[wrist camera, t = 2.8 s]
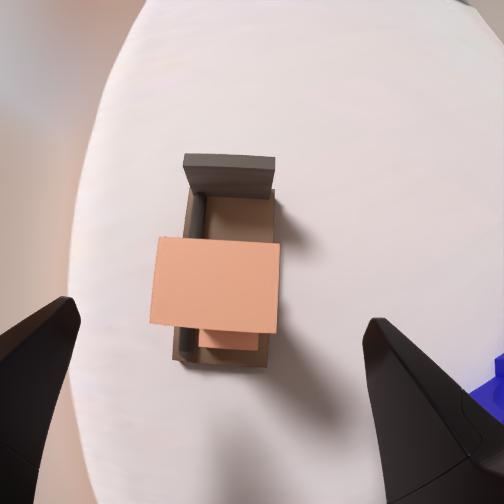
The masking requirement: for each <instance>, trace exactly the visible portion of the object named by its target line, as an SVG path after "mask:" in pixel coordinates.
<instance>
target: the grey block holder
mask: <svg viewBox="0 0 504 504" xmlns="http://www.w3.org/2000/svg"><path fill="white" fill-rule="evenodd" d="M183 168H184V171H185V174H186V176H187V179H188V182H189V185H190V189H189V196H188V202H187V210H186V217H185V224H184V232H183V238H191V239H209V240H226V241H243V242H260V243H273V228H274V198H275V189H271V188H272V183H273V177H274V172H275V157H265V156H249V155H229V154H188V153H185V155H184V161H183ZM199 331H200V329H199V328H188V327H178V326H174V338H173V355H172V360H177V361H186V362H195V363H205V364H216V365H229V366H245V367H267V356H268V338H269V333H259V336H258V351H253V350H236V349H222V348H210V347H199Z"/></svg>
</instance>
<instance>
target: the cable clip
mask: <svg viewBox="0 0 504 504" xmlns="http://www.w3.org/2000/svg"><path fill="white" fill-rule="evenodd" d="M495 375H496V377H494V378H493V379H491V380H490V381H488V382H487V383H485V384H484V385H482V386H481V387H479V388H477V389H476V390H474V391H472V392H471V393H469V395H470V396H471V397H472V398H473V399H474V400H475V401H477V402H478V403H479V404H480V405H481V406H482V407H483V408H484V409H486V410H487V411H488V412H489V413H490V414H491V415H493V416H494V417H495V418H496V419H498V420H499V421H500V422H501V423H503V424H504V354H502V355H500V356H499V357H497V358H496V359H495Z"/></svg>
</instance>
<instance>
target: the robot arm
mask: <svg viewBox="0 0 504 504" xmlns="http://www.w3.org/2000/svg"><path fill="white" fill-rule="evenodd" d="M80 324H81V317H80V314H79V312H78V309H77V306H76V304H75V301H74V299H73V298H71V297H65V296H61V297H59V298H57V299H56V300H54V301H53V302H51V303H49V304H48V305H46V306H45V307H43V308H41V309H40V310H38V311H37V312H35V313H34V314H32V315H30V316H29V317H27V318H26V319H24V320H23V321H21V322H20V323H18V324H17V325H15V326H14V327H12V328H10V329H9V330H7V331H6V332H4V333H3V334H1V335H0V504H33V502H34V496H35V489H36V483H37V479H38V473H39V468H40V463H41V459H42V454H43V450H44V446H45V441H46V438H47V434H48V430H49V426H50V423H51V419H52V416H53V413H54V409H55V406H56V402H57V399H58V396H59V393H60V390H61V387H62V384H63V381H64V378H65V375H66V372H67V370H68V367H69V364H70V360H71V357H72V353H73V349H74V345H75V342H76V338H77V335H78V331H79V328H80ZM362 345H363V353H364V361H365V370H366V380H367V388H368V393H369V398H370V403H371V408H372V413H373V418H374V423H375V428H376V434H377V439H378V445H379V451H380V457H381V463H382V470H383V477H384V484H385V492H386V500H387V504H504V424H503V423H501V422H500V421H499V420H498V419H496V418H495V417H494V416H493V415H491V414H490V413H489V412H488V411H487V410H486V409H484V408H483V407H482V406H481V405H480V404H479V403H478V402H477V401H475V400H474V399H473V398H472V397H471V396H470V395H469V394H468V393H467V392H466V391H465V390H464V389H462V388H461V387H460V386H459V385H458V384H457V383H456V382H455V381H454V380H453V379H452V378H451V377H450V376H449V375H448V374H447V373H446V372H444V371H443V370H442V369H441V368H440V367H439V366H438V365H437V364H436V363H435V362H434V361H433V360H431V359H430V358H429V357H428V356H427V355H426V354H425V353H424V352H423V351H422V350H420V349H419V348H418V347H417V346H416V345H415V344H414V343H413V342H412V341H410V340H409V339H408V338H407V337H406V336H405V335H404V334H403V333H401V332H400V331H399V330H398V329H397V328H396V327H395V326H394V325H392V324H391V323H390V322H389V321H388V320H387V319H385V318H372V319H371V320H370V322H369V324H368V327H367V329H366V331H365V334H364V336H363V341H362Z"/></svg>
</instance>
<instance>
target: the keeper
mask: <svg viewBox="0 0 504 504" xmlns="http://www.w3.org/2000/svg"><path fill="white" fill-rule="evenodd" d="M279 256H280V244H276V243H260V242H243V241H226V240H209V239H191V238H173V237H159V239H158V246H157V254H156V262H155V270H154V279H153V288H152V298H151V309H150V322H149V323H152V324H160V325H169V326H178V327H188V328H199V329H200V331H199V347H210V348H222V349H236V350H253V351H258V336H259V333H276V326H277V306H278V283H279Z"/></svg>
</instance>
